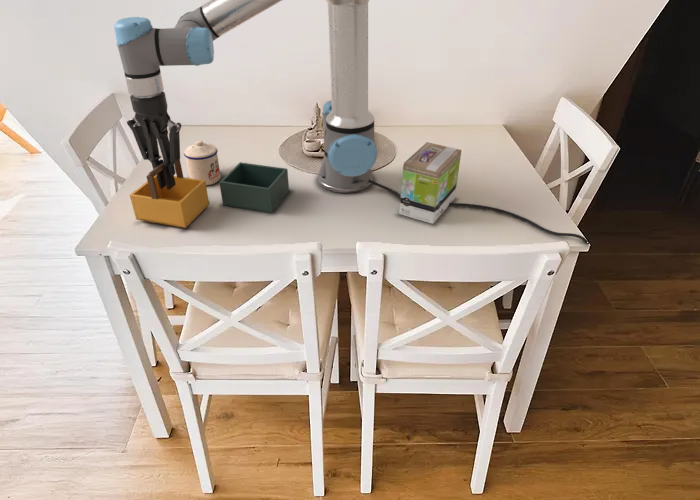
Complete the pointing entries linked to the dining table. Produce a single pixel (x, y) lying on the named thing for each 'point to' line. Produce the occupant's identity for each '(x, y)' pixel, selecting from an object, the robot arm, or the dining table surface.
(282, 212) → the dining table surface
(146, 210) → the ochre basket
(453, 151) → the tea box
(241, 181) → the green basket
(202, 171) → the teacup with lid
